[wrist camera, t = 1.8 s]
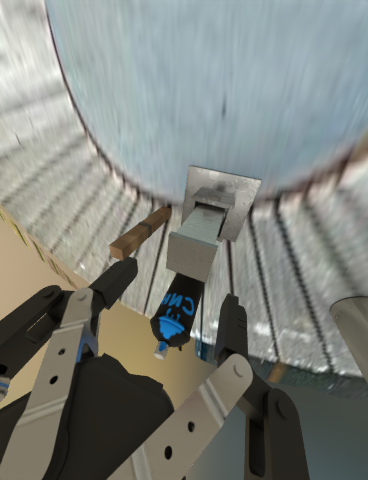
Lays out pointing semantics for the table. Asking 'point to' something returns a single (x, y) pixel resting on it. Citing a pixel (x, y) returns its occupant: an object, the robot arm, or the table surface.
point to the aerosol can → (176, 314)
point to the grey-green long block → (195, 242)
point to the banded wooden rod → (139, 234)
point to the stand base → (220, 197)
